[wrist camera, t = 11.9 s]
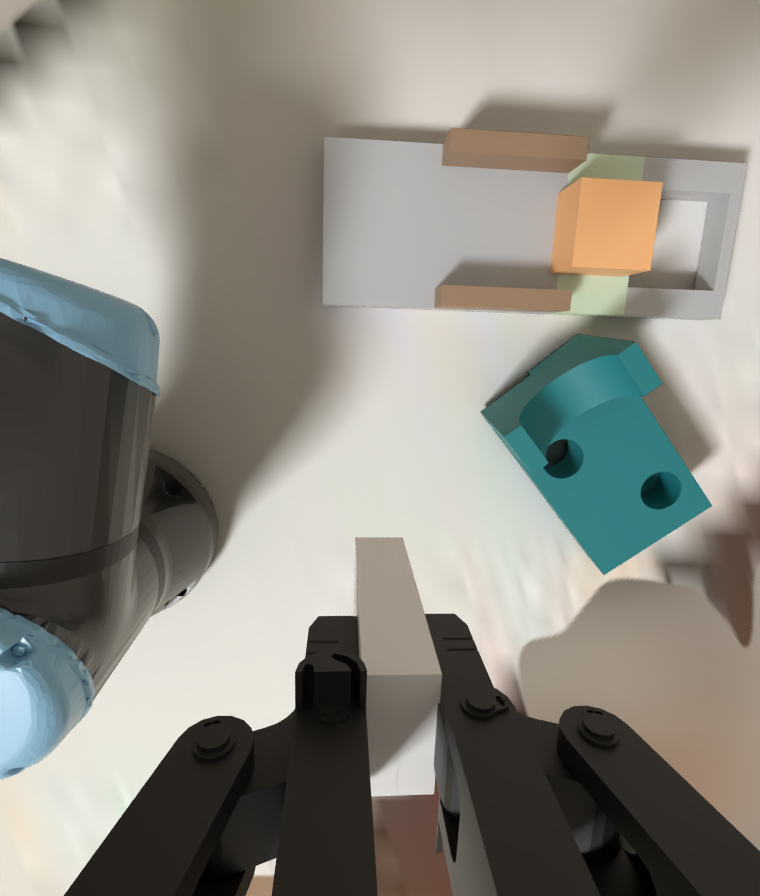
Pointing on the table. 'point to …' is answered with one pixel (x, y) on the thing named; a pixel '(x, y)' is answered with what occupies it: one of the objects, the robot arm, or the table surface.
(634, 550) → the teal l-shaped bracket
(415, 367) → the table surface
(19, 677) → the robot arm
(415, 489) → the table surface
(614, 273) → the block
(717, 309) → the deck
